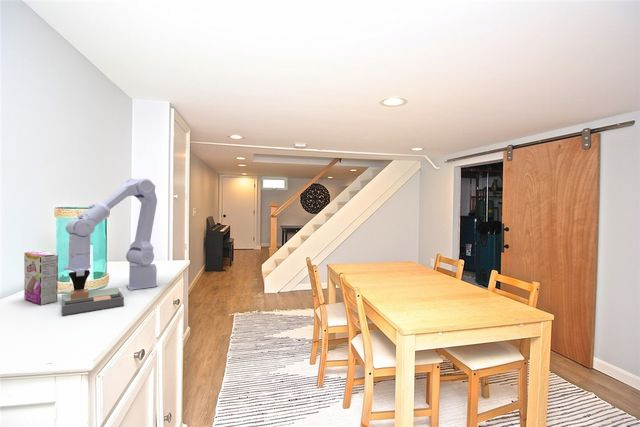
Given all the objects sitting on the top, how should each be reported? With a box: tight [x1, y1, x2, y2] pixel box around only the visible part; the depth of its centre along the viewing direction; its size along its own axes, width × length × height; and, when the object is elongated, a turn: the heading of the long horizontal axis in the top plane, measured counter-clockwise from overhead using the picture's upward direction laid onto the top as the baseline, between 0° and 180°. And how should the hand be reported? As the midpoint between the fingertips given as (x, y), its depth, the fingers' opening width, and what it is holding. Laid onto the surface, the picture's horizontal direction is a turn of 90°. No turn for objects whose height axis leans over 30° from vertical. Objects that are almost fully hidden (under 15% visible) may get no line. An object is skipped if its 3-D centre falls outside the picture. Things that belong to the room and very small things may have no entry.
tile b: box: [70, 288, 89, 300], centre depth 99 cm, size 4×4×2 cm
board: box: [61, 287, 121, 303], centre depth 103 cm, size 16×8×2 cm, turn 132°
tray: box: [61, 290, 125, 317], centre depth 96 cm, size 16×8×3 cm, turn 132°
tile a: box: [93, 295, 111, 301], centre depth 98 cm, size 4×4×2 cm
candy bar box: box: [23, 250, 59, 306], centre depth 100 cm, size 11×5×16 cm, turn 65°
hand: (78, 292), depth 102 cm, fingers closed
